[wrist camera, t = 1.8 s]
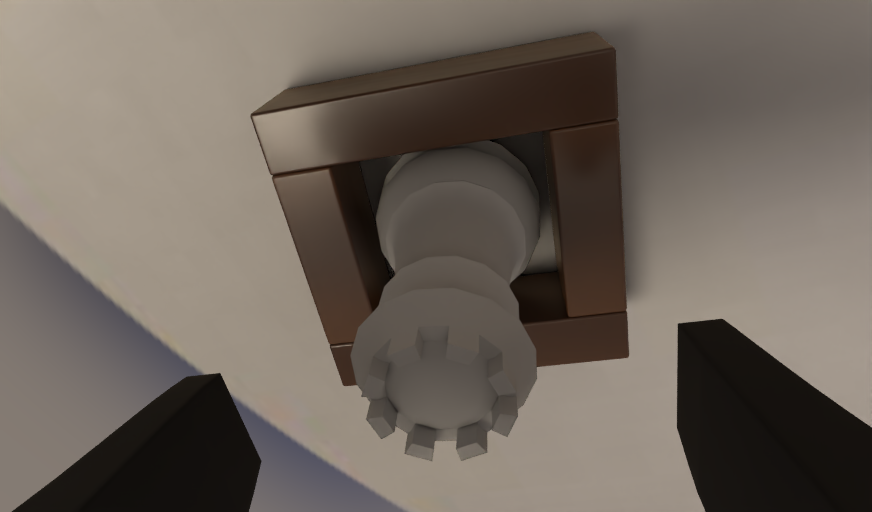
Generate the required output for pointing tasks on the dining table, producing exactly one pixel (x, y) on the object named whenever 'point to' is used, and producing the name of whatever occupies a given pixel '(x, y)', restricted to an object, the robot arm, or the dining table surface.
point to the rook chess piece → (450, 299)
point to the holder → (448, 126)
